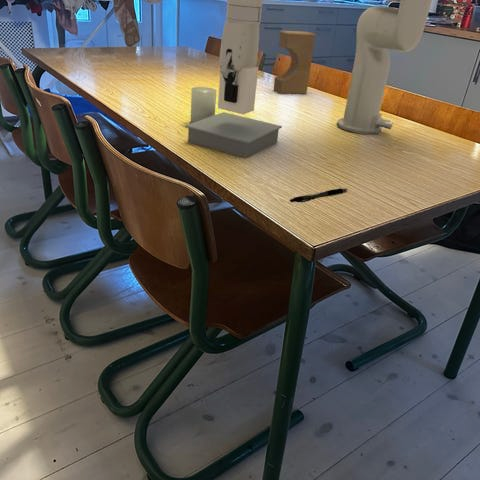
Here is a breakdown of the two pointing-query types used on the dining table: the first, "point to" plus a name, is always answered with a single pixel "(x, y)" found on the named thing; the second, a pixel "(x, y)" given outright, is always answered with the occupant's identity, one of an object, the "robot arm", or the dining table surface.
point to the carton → (240, 91)
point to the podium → (233, 134)
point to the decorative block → (296, 62)
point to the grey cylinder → (202, 103)
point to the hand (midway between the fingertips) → (236, 99)
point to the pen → (317, 195)
